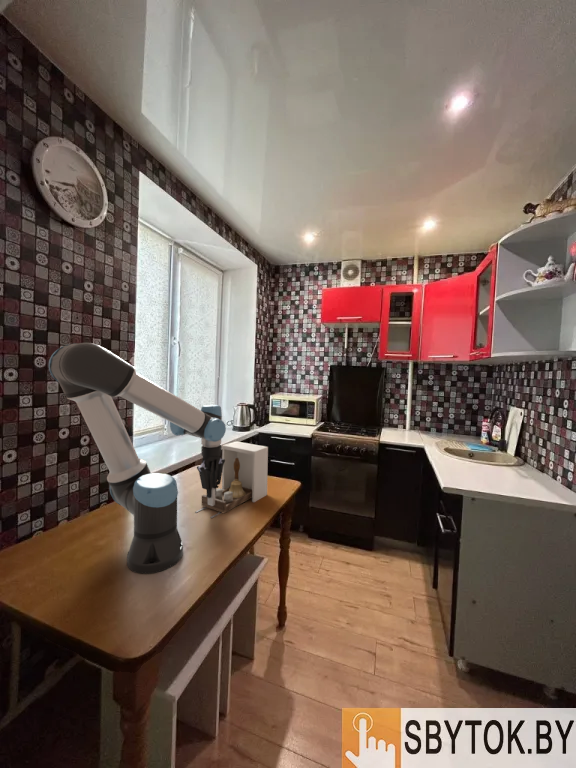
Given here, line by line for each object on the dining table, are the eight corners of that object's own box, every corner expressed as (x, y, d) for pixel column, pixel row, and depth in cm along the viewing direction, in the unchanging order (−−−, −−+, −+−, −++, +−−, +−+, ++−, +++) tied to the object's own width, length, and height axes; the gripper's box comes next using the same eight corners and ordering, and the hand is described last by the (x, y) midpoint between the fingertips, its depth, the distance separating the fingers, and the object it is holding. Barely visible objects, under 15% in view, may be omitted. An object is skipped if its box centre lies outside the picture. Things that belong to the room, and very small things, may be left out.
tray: (224, 513, 120) (224, 500, 119) (201, 505, 126) (201, 493, 126) (255, 495, 137) (255, 484, 136) (234, 489, 143) (234, 478, 143)
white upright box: (220, 521, 114) (221, 463, 113) (186, 509, 123) (187, 455, 122) (267, 494, 139) (267, 446, 138) (235, 486, 148) (236, 441, 147)
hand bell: (249, 494, 135) (250, 457, 135) (235, 500, 129) (236, 462, 128) (236, 489, 140) (236, 454, 140) (222, 495, 134) (222, 458, 133)
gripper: (205, 450, 113) (205, 513, 114) (230, 442, 124) (230, 500, 126) (191, 447, 117) (191, 508, 118) (216, 440, 128) (216, 496, 129)
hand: (211, 504), depth 122 cm, fingers closed
